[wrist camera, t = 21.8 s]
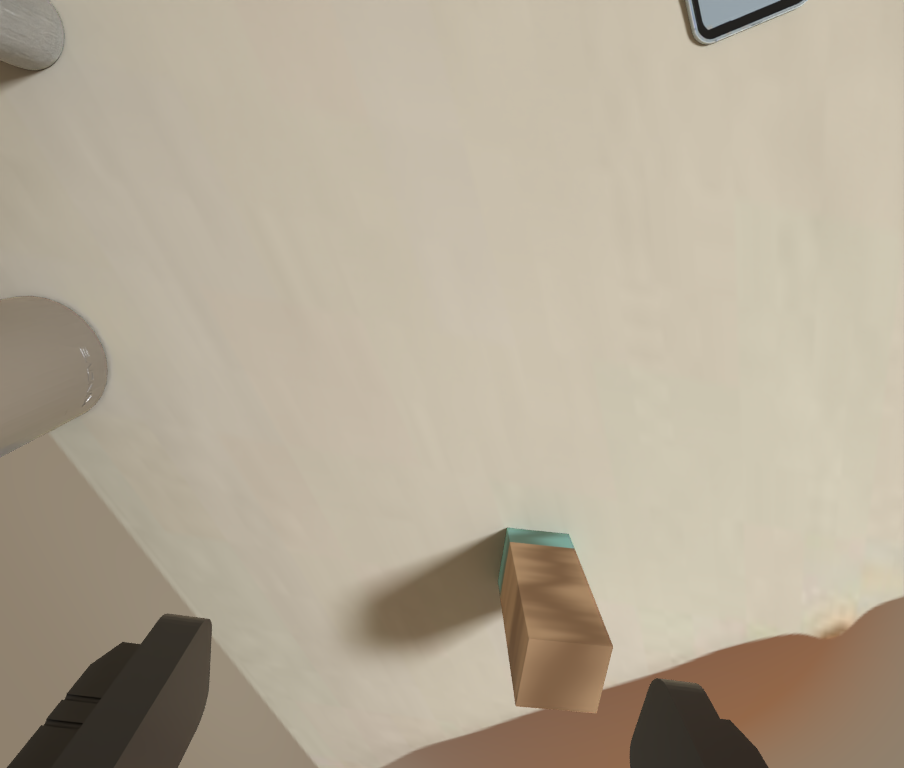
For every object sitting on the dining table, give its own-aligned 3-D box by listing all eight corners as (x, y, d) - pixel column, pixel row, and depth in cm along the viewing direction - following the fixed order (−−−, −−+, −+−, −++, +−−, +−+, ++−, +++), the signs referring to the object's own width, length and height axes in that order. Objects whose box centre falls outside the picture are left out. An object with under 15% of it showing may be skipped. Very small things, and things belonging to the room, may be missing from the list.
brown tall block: (529, 638, 31) (507, 527, 43) (515, 706, 33) (497, 581, 44) (613, 646, 32) (568, 534, 43) (596, 713, 33) (557, 587, 45)
